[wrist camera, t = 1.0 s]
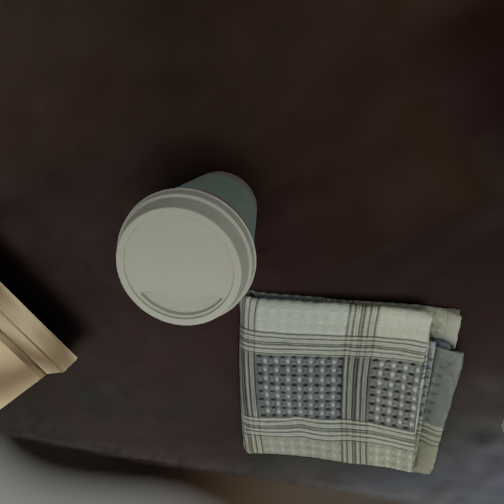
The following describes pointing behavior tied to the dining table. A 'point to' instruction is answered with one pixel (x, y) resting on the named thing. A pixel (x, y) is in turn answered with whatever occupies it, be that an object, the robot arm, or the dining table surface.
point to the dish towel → (346, 378)
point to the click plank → (32, 335)
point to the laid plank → (15, 370)
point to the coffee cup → (190, 249)
